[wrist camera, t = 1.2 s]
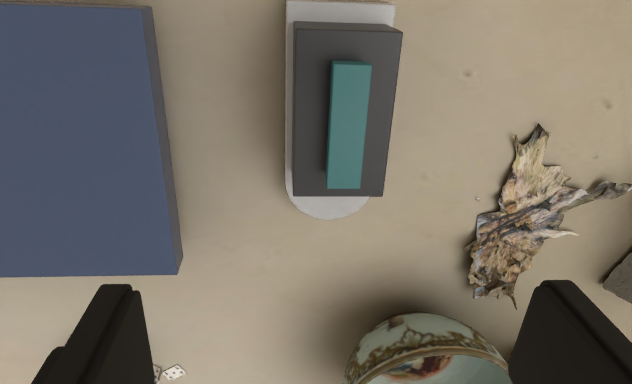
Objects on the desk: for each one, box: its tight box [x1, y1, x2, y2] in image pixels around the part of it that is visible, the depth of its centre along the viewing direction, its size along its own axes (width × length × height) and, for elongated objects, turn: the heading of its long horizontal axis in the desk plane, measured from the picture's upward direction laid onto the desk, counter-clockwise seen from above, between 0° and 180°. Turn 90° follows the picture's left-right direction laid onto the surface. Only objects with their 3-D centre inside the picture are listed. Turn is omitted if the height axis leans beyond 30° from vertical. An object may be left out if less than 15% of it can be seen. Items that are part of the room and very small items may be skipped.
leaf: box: [464, 123, 632, 310], centre depth 32 cm, size 11×15×2 cm
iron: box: [285, 0, 403, 220], centre depth 25 cm, size 14×6×7 cm, turn 178°
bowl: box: [343, 312, 513, 384], centre depth 34 cm, size 14×13×8 cm
